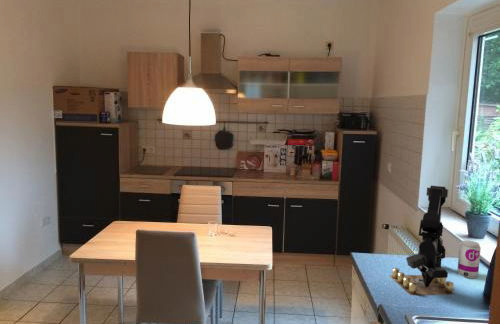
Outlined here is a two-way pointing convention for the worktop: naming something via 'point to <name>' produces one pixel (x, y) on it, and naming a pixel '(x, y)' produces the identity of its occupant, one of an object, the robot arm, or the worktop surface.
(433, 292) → the board
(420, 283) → the steel nut
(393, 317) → the worktop surface
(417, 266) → the robot arm
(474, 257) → the supplement can
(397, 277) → the brass spacers
